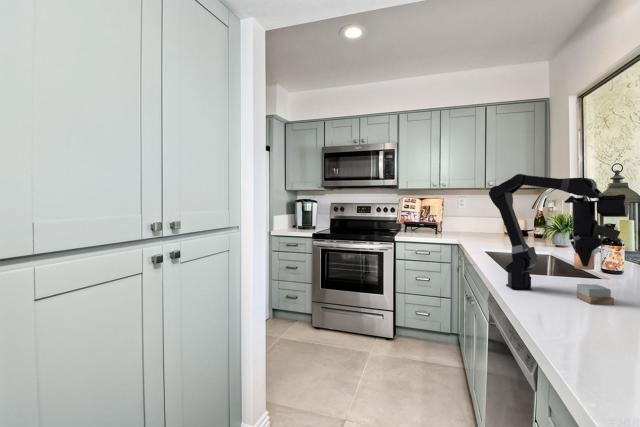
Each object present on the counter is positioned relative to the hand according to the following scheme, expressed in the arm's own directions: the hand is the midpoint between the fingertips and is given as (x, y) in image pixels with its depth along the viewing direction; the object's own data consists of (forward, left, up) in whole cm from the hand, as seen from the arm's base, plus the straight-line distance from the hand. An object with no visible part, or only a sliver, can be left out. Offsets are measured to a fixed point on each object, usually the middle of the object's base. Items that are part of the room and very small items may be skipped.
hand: (584, 264), depth 103 cm
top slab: (+2, -1, -9) cm, 10 cm away
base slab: (+3, -1, -12) cm, 12 cm away
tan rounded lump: (0, 0, -1) cm, 1 cm away
